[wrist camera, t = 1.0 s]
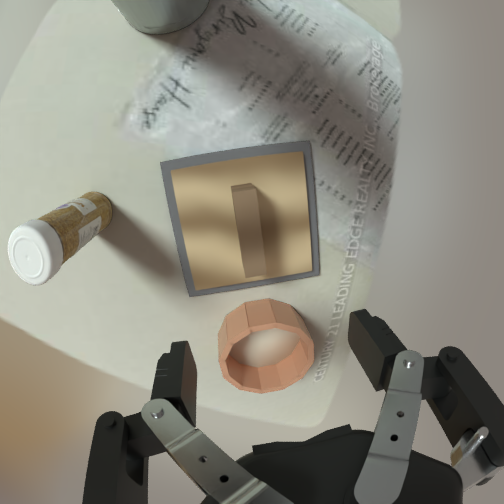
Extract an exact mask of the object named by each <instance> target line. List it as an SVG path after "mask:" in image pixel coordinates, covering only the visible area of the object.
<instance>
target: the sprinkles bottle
mask: <svg viewBox="0 0 504 504" xmlns="http://www.w3.org/2000/svg"><path fill="white" fill-rule="evenodd" d="M111 218H112V208H111V204H110V202H109V200H108V199H107V198H106V197H105V196H104V195H102V194H100V193H98V192H88V193H86V194H84V195H83V196H82V197H80V198H77V199H74V200H72V201H70V202H68V203H66V204H64V205H62V206H60V207H58V208H56V209H54V210H52V211H51V212H50V213H48V214H46V215H44V216H42V217H40V218H39V219H34V220H30V221H27V222H26V223H24V224H22V225H20V226H19V227H17V228H16V229H15V230H14V231H13V232H12V234H11V236H10V238H9V241H8V255H9V260H10V263H11V265H12V267H13V269H14V271H15V272H16V274H17V275H18V276H19V277H20V278H21V279H22V280H23V281H25V282H27V283H29V284H31V285H42V284H44V283H46V282H47V281H48V280H49V279H51V278H52V277H53V276H54V275H55V274H56V273H57V272H58V271H59V269H60V267H61V265H62V264H63V263H64V262H65V261H67V260H68V259H69V258H71V257H72V256H73V255H74V254H75V253H77V252H78V251H79V250H80V249H81V248H82V247H83V246H84V245H86V244H87V243H88V242H89V241H90V240H91V239H92V238H94V237H95V236H96V235H97V234H98V232H100V231H102V230H104V229H105V228H106V227H107V226H108V225H109V223H110V221H111Z"/></svg>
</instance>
